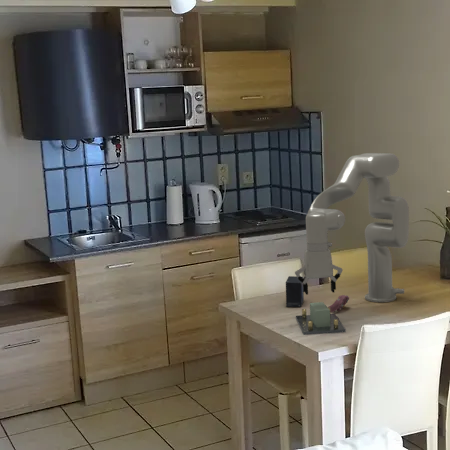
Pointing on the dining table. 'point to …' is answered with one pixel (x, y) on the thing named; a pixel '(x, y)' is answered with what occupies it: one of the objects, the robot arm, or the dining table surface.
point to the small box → (294, 292)
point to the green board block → (320, 314)
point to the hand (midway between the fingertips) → (319, 292)
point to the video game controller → (339, 303)
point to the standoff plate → (310, 328)
